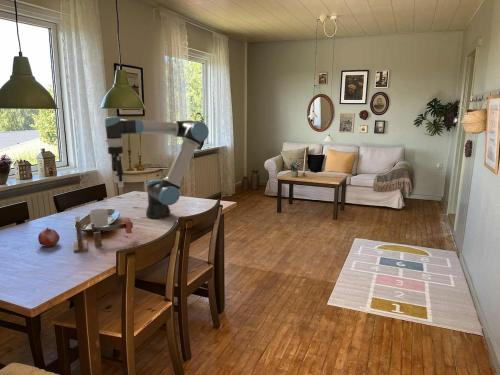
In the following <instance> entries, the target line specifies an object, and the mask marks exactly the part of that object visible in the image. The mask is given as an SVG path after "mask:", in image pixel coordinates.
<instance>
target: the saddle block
mask: <svg viewBox="0 0 500 375" xmlns="http://www.w3.org/2000/svg"><path fill="white" fill-rule="evenodd" d="M101 233H102V232H93V240H94V247H95V248H97V247H102V236H101V235H102V234H101Z"/></svg>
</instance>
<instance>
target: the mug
mask: <svg viewBox="0 0 500 375" xmlns="http://www.w3.org/2000/svg"><path fill="white" fill-rule="evenodd" d="M89 218H90V224H91V223H94V227H102V226H109V212H108V210H107V209H106V208H96V209H92V210H90V211H89ZM91 228H92V227H91V226H90V229H91Z"/></svg>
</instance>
